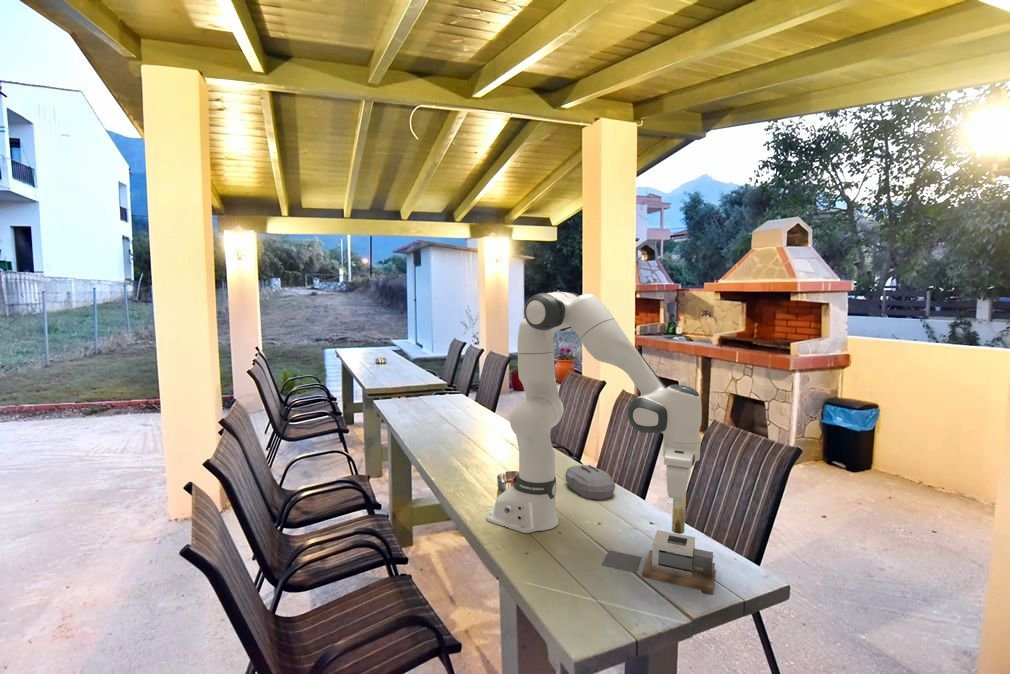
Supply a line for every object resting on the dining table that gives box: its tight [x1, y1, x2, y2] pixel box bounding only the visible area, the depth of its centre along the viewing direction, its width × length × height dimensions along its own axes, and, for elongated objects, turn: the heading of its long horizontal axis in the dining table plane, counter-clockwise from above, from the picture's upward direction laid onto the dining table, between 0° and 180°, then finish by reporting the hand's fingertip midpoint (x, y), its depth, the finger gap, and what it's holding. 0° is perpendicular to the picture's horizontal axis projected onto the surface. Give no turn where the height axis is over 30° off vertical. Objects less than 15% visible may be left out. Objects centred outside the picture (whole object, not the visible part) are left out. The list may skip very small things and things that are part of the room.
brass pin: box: [671, 491, 687, 535], centre depth 132 cm, size 3×3×16 cm
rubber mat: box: [601, 549, 643, 574], centre depth 138 cm, size 9×9×1 cm
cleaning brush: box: [564, 464, 616, 500], centre depth 189 cm, size 15×8×20 cm
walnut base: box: [641, 549, 716, 595], centre depth 133 cm, size 16×13×2 cm
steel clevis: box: [652, 529, 714, 578], centre depth 133 cm, size 14×8×7 cm, turn 66°
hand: (678, 503), depth 132 cm, fingers closed on brass pin, 3 cm apart
